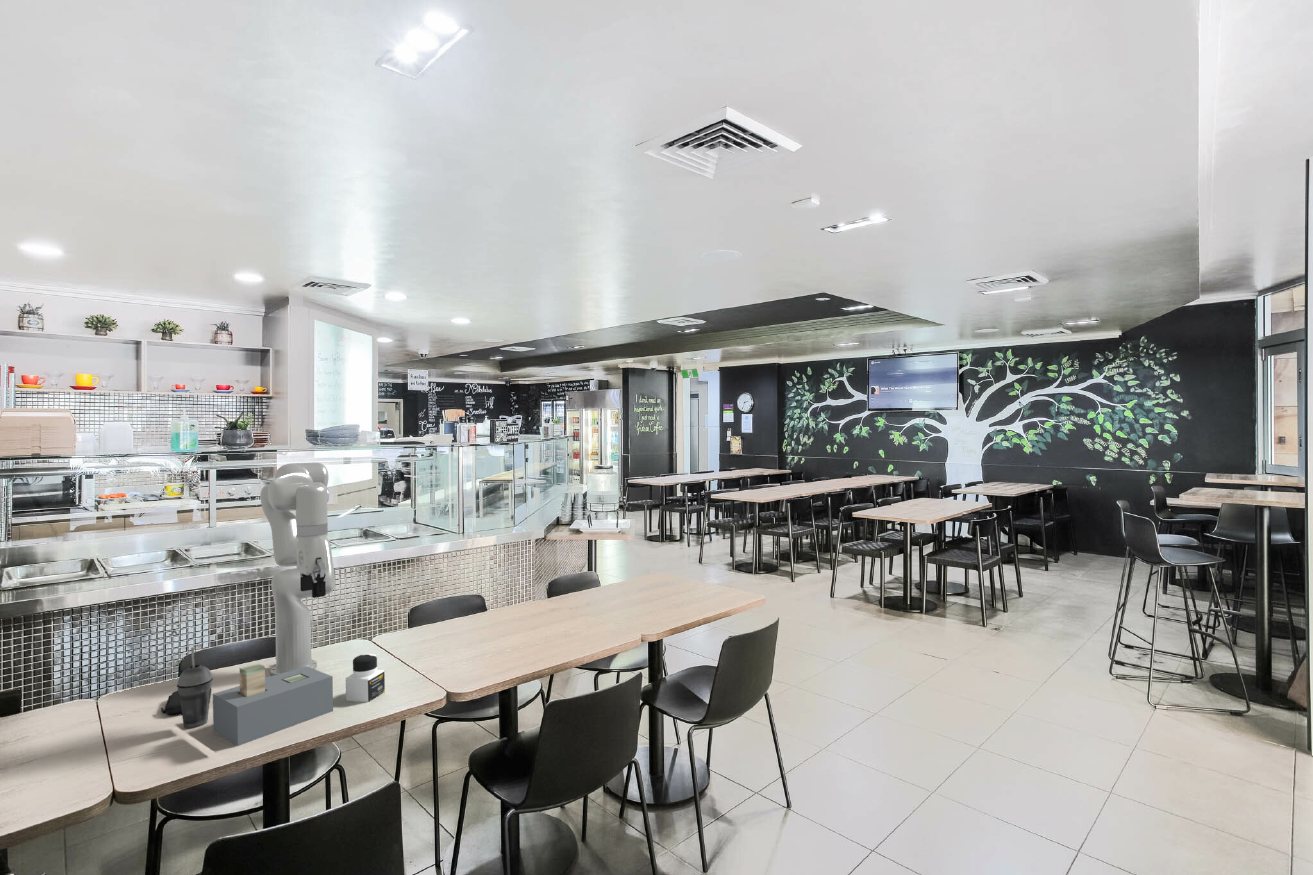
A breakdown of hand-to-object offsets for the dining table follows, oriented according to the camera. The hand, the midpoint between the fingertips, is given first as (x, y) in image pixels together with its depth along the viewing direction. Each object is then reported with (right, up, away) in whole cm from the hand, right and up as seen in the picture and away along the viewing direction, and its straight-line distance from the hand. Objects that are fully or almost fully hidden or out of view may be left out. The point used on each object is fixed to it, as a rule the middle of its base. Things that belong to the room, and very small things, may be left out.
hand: (312, 593), depth 169 cm
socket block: (-3, -30, -12) cm, 32 cm away
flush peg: (0, -29, -8) cm, 30 cm away
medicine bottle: (+13, -30, +2) cm, 33 cm away
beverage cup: (-22, -31, -13) cm, 40 cm away
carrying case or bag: (-35, -31, +1) cm, 47 cm away
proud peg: (-6, -23, -16) cm, 29 cm away
